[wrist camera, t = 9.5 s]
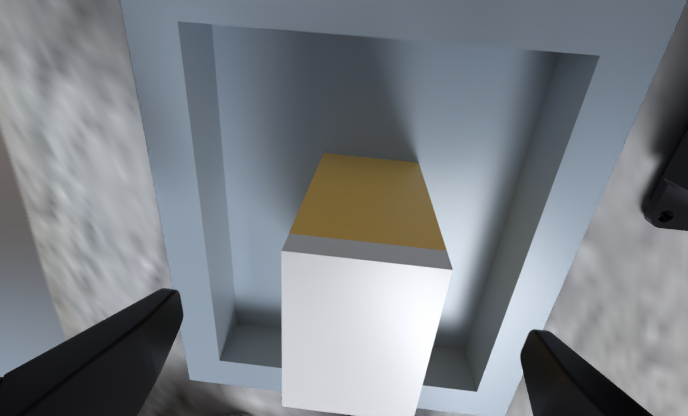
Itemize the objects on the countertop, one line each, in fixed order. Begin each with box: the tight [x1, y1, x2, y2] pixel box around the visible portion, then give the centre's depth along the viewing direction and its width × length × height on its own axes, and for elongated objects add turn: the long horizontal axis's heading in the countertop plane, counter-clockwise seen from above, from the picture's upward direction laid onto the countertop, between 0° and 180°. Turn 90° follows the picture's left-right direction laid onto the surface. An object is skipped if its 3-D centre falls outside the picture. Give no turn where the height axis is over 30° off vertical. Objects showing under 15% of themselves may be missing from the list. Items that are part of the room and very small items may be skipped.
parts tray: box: [120, 0, 687, 416], centre depth 14 cm, size 14×16×3 cm
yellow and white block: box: [281, 153, 453, 416], centre depth 11 cm, size 4×5×6 cm
